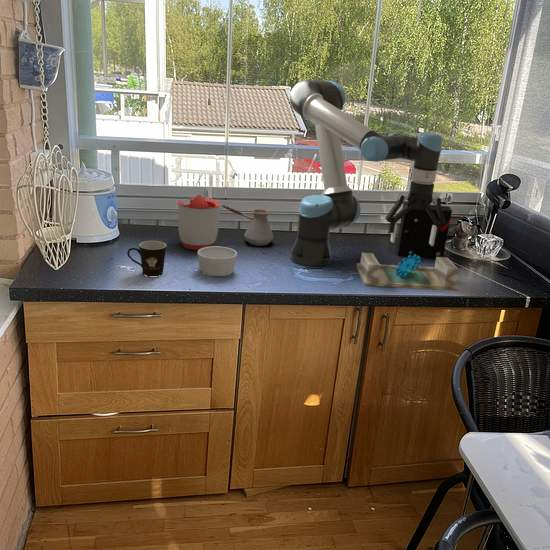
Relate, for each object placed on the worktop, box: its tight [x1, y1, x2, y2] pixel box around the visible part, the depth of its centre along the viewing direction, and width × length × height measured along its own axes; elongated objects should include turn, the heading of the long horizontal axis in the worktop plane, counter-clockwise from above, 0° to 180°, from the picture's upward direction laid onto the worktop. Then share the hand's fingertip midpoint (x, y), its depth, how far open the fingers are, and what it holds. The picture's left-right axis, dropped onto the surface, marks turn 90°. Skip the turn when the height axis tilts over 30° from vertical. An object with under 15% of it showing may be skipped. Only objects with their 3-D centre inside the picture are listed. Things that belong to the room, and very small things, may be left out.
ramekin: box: [197, 245, 238, 277], centre depth 192 cm, size 13×13×7 cm
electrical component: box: [395, 201, 453, 260], centre depth 223 cm, size 18×10×20 cm, turn 84°
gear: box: [395, 254, 422, 281], centre depth 198 cm, size 11×6×10 cm
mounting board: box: [355, 252, 460, 291], centre depth 198 cm, size 32×16×7 cm, turn 93°
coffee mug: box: [127, 240, 167, 276], centre depth 185 cm, size 12×9×10 cm
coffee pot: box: [219, 204, 274, 247], centre depth 222 cm, size 21×12×15 cm, turn 99°
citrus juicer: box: [177, 194, 221, 251], centre depth 213 cm, size 16×17×20 cm
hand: (411, 243), depth 194 cm, fingers open, 13 cm apart
